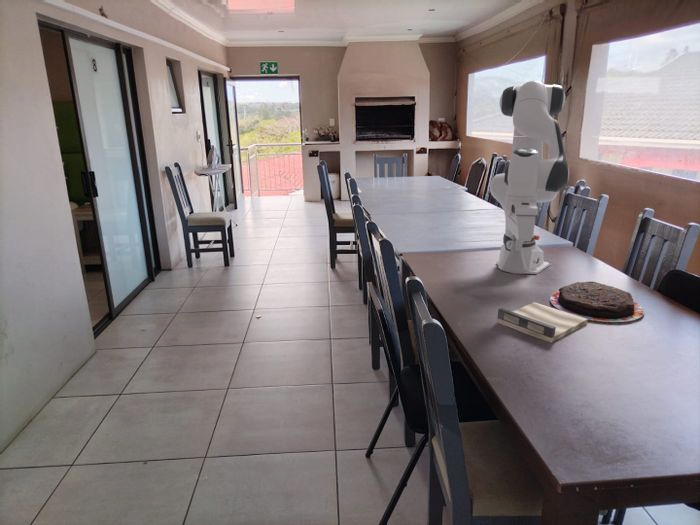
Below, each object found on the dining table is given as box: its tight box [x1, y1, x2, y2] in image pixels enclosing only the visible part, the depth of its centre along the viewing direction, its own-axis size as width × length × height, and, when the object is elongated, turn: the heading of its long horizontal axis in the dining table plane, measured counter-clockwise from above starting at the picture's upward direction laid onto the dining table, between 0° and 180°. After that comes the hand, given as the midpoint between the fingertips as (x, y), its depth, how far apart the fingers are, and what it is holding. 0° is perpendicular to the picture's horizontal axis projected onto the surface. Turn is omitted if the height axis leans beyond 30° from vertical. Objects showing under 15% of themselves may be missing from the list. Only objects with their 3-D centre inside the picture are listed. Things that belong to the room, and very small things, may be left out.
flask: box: [502, 239, 528, 275], centre depth 149 cm, size 7×7×10 cm
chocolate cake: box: [549, 281, 645, 325], centre depth 157 cm, size 28×28×7 cm
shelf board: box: [496, 301, 588, 344], centre depth 146 cm, size 20×18×4 cm
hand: (516, 248), depth 148 cm, fingers closed on flask, 3 cm apart
